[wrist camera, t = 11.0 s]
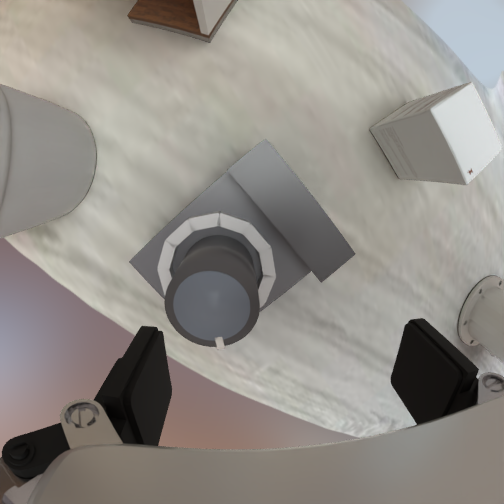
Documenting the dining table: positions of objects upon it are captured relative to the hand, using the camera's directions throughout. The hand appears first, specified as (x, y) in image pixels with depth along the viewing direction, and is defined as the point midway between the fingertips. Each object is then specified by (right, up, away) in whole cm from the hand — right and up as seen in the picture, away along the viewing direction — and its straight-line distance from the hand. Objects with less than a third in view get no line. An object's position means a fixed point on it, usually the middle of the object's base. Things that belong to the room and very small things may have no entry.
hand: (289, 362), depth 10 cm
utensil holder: (-26, +15, +19) cm, 35 cm away
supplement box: (+17, +18, +21) cm, 32 cm away
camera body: (-3, +6, +22) cm, 23 cm away
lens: (-4, +2, +15) cm, 15 cm away
